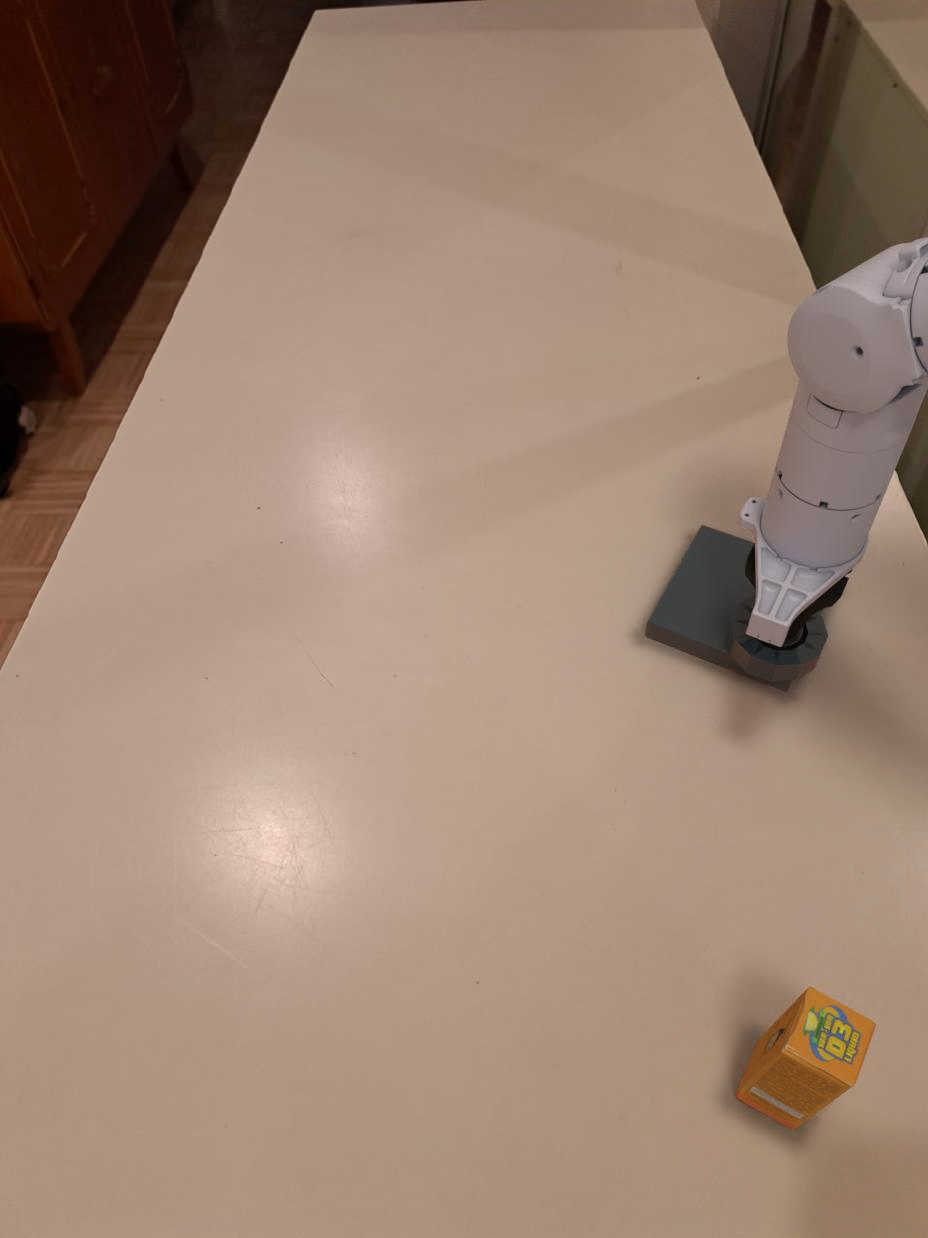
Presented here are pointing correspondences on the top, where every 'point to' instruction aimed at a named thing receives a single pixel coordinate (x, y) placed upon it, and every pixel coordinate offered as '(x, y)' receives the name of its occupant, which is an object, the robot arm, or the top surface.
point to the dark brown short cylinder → (785, 642)
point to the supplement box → (806, 1059)
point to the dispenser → (727, 614)
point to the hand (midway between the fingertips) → (778, 626)
